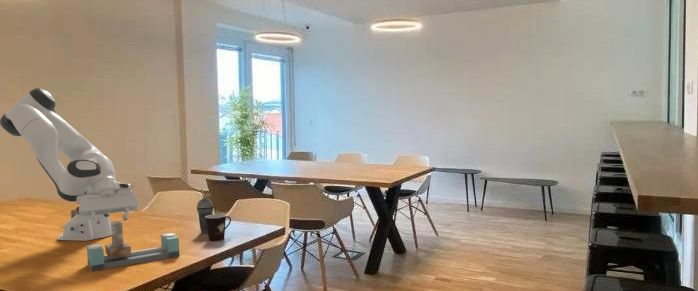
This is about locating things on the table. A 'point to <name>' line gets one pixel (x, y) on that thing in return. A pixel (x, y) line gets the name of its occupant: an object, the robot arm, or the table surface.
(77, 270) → the table surface
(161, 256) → the rail bed
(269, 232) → the table surface
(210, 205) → the beverage cup
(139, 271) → the table surface
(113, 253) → the carriage
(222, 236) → the coffee mug
